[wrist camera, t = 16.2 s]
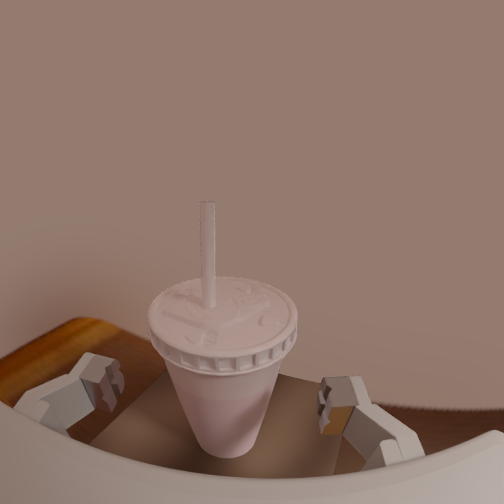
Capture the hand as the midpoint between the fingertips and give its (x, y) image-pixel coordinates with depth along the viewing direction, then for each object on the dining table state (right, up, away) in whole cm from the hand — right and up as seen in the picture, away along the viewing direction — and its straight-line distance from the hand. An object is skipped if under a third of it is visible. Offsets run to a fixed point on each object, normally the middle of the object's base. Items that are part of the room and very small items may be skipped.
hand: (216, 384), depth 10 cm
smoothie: (0, -6, +5) cm, 8 cm away
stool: (0, -13, +7) cm, 15 cm away
